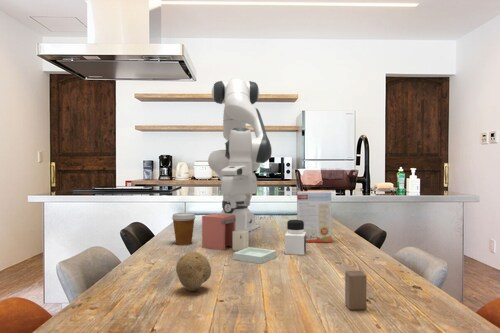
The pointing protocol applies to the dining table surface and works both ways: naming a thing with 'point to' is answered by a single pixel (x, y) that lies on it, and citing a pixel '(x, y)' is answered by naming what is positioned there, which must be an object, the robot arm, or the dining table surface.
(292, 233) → the medicine bottle
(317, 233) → the cracker box
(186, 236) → the disposable coffee cup
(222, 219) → the block
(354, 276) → the wooden block
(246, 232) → the tall beige block
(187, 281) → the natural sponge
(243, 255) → the dish
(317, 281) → the dining table surface
